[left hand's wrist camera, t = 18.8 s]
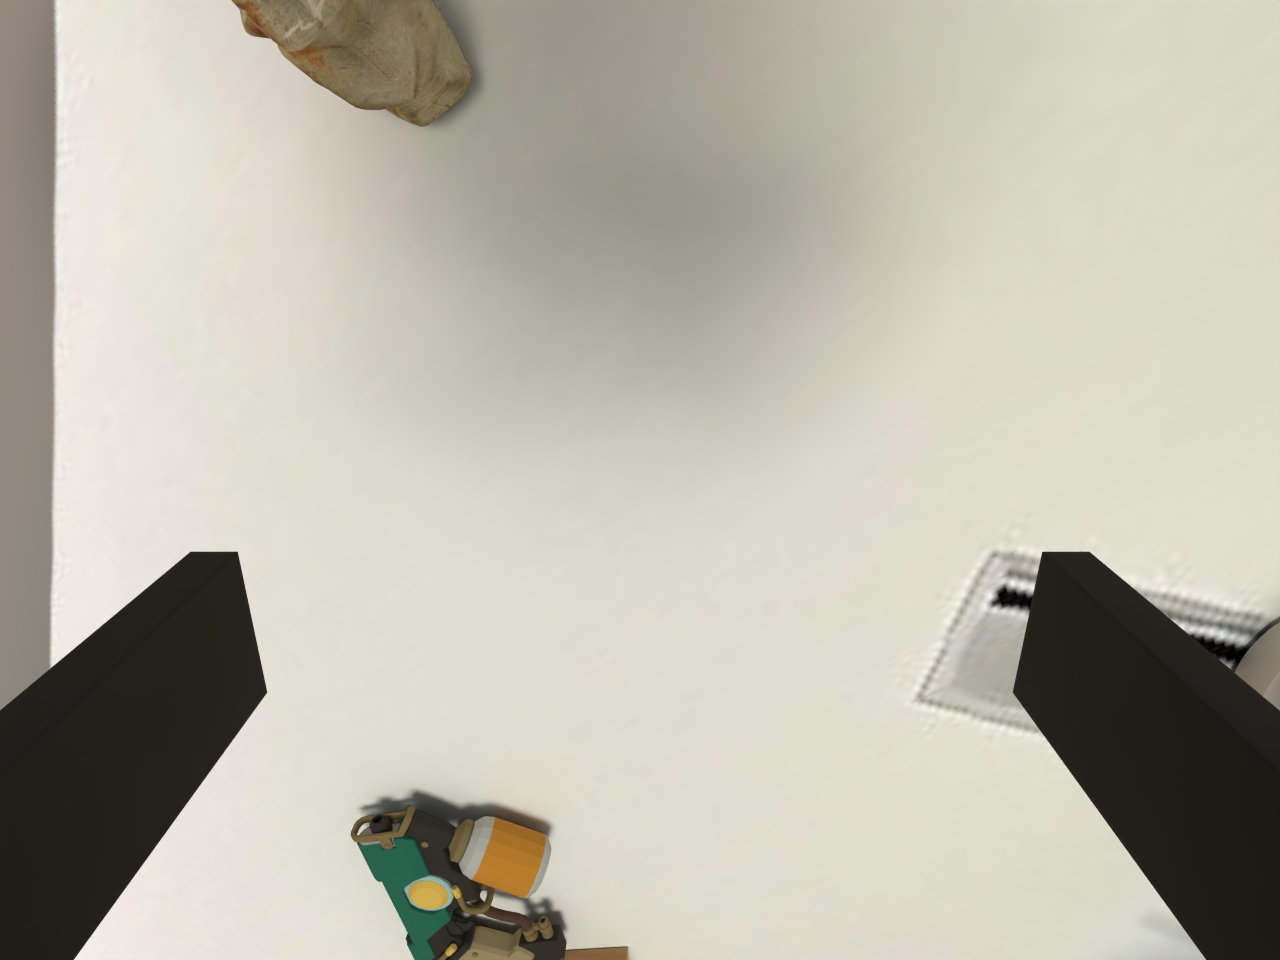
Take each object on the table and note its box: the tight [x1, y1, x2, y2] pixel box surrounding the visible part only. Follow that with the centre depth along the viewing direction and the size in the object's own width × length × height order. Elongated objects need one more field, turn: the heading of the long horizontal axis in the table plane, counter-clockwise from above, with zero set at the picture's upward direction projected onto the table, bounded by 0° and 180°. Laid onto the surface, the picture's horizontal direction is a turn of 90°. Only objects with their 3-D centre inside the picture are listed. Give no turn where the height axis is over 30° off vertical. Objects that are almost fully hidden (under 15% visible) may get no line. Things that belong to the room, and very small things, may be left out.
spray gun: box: [351, 806, 566, 960], centre depth 56 cm, size 4×17×15 cm
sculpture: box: [232, 0, 473, 126], centre depth 31 cm, size 6×7×15 cm
